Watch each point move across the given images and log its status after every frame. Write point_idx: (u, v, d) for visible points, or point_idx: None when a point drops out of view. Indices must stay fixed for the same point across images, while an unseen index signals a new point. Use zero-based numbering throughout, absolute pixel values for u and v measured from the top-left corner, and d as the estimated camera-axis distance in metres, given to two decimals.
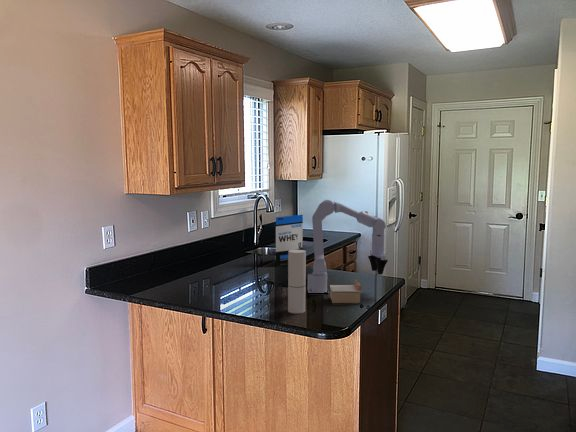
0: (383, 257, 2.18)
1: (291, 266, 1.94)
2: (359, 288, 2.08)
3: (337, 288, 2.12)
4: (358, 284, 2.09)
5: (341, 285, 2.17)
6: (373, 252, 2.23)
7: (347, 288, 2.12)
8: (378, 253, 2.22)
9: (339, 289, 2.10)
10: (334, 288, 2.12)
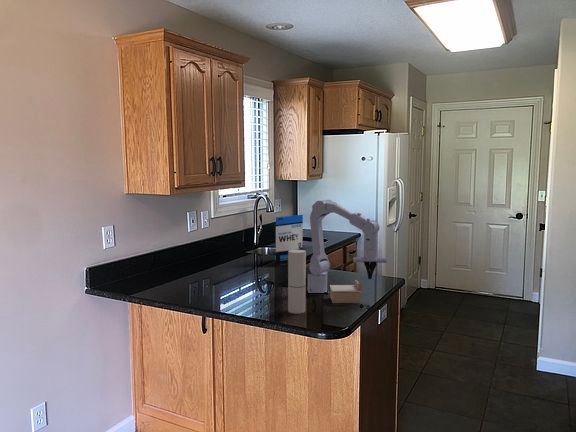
0: (386, 260, 2.11)
1: (291, 266, 1.94)
2: (359, 288, 2.08)
3: (337, 288, 2.12)
4: (358, 284, 2.09)
5: (341, 285, 2.17)
6: (373, 258, 2.09)
7: (347, 288, 2.12)
8: (376, 257, 2.11)
9: (339, 289, 2.10)
10: (334, 288, 2.12)
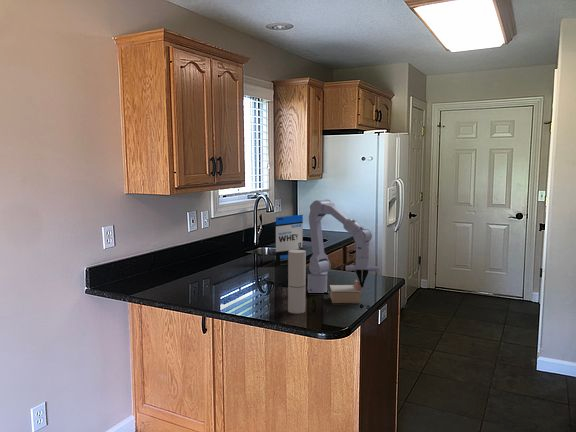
0: (378, 268, 2.11)
1: (291, 266, 1.94)
2: (359, 288, 2.08)
3: (337, 288, 2.12)
4: (358, 284, 2.09)
5: (341, 285, 2.17)
6: (364, 266, 2.09)
7: (347, 288, 2.12)
8: (368, 266, 2.11)
9: (339, 289, 2.10)
10: (334, 288, 2.12)
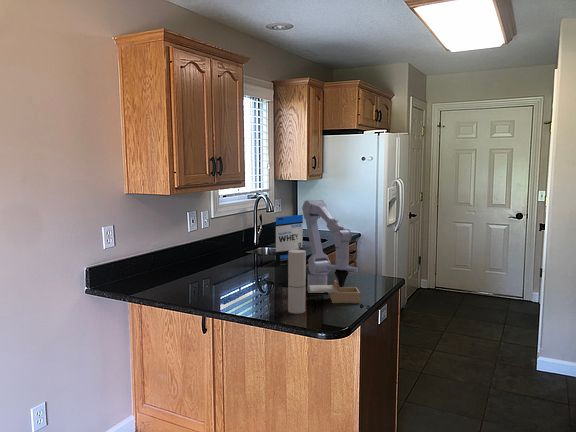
0: (357, 269, 2.08)
1: (291, 266, 1.94)
2: (337, 288, 2.08)
3: (316, 288, 2.12)
4: (337, 284, 2.09)
5: (320, 285, 2.17)
6: (341, 266, 2.09)
7: (326, 288, 2.12)
8: (347, 266, 2.10)
9: (318, 289, 2.10)
10: (313, 288, 2.12)
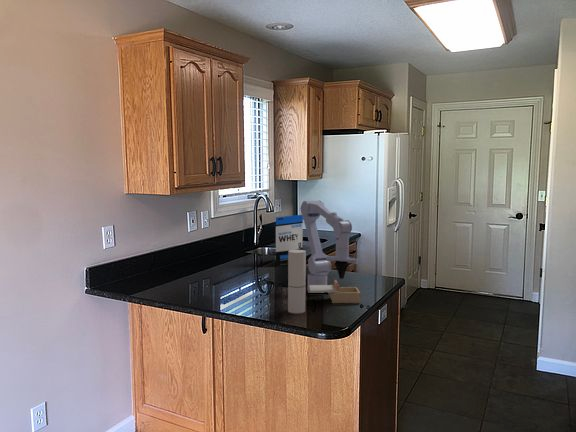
0: (357, 261, 2.08)
1: (291, 266, 1.94)
2: (337, 288, 2.08)
3: (316, 288, 2.12)
4: (337, 284, 2.09)
5: (320, 285, 2.17)
6: (342, 257, 2.09)
7: (326, 288, 2.12)
8: (347, 257, 2.10)
9: (318, 289, 2.10)
10: (313, 288, 2.12)
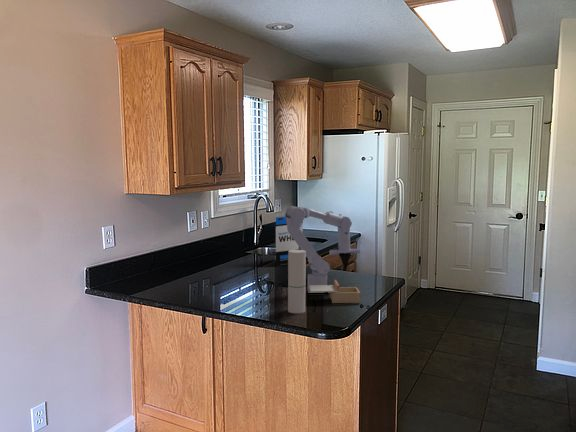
0: (359, 250, 2.31)
1: (291, 266, 1.94)
2: (337, 288, 2.08)
3: (316, 288, 2.12)
4: (337, 284, 2.09)
5: (320, 285, 2.17)
6: (347, 249, 2.28)
7: (326, 288, 2.12)
8: (350, 249, 2.30)
9: (318, 289, 2.10)
10: (313, 288, 2.12)
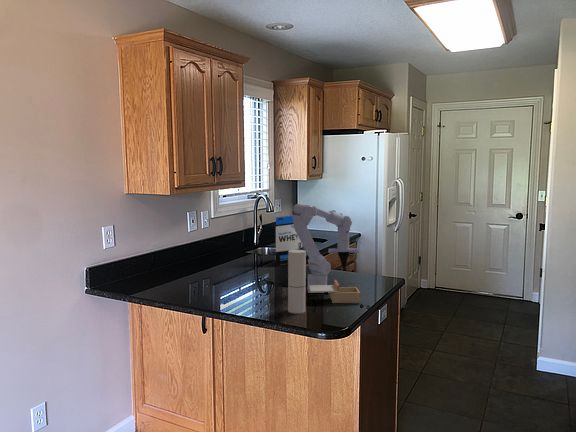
0: None
1: (291, 266, 1.94)
2: (337, 288, 2.08)
3: (316, 288, 2.12)
4: (337, 284, 2.09)
5: (320, 285, 2.17)
6: (346, 248, 2.32)
7: (326, 288, 2.12)
8: (349, 248, 2.34)
9: (318, 289, 2.10)
10: (313, 288, 2.12)
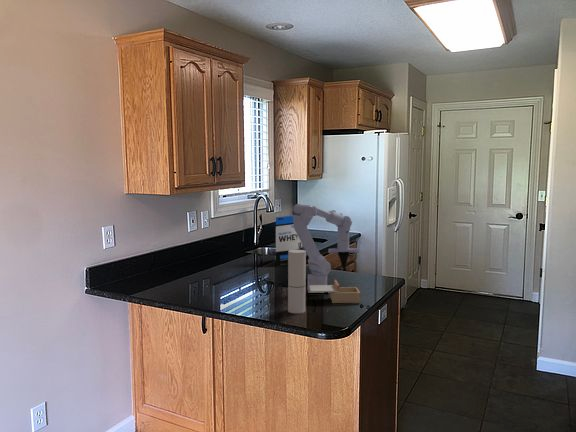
0: None
1: (291, 266, 1.94)
2: (337, 288, 2.08)
3: (316, 288, 2.12)
4: (337, 284, 2.09)
5: (320, 285, 2.17)
6: (346, 248, 2.32)
7: (326, 288, 2.12)
8: (349, 248, 2.34)
9: (318, 289, 2.10)
10: (313, 288, 2.12)
